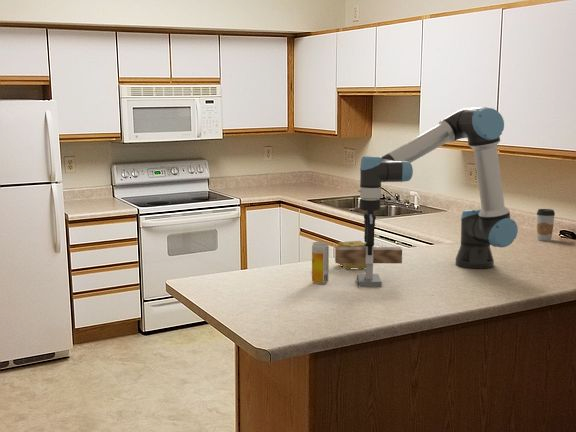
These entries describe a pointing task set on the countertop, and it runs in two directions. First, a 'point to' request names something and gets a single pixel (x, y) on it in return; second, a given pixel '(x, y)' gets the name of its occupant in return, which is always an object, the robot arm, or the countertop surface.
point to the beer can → (320, 262)
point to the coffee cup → (545, 224)
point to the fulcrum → (369, 278)
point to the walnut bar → (360, 255)
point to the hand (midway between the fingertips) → (368, 261)
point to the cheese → (352, 244)
